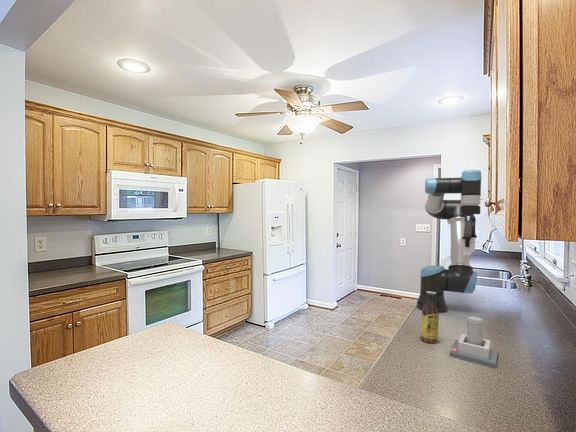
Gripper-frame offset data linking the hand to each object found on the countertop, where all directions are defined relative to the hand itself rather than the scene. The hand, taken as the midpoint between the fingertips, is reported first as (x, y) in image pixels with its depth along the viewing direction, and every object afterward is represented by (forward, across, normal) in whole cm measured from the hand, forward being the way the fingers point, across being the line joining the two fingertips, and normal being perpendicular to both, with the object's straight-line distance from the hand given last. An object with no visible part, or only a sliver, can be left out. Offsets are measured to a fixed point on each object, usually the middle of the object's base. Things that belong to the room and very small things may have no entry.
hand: (469, 253), depth 136 cm
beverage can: (+33, -25, -5) cm, 42 cm away
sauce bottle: (+35, -22, +11) cm, 43 cm away
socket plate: (+35, -25, -5) cm, 43 cm away
